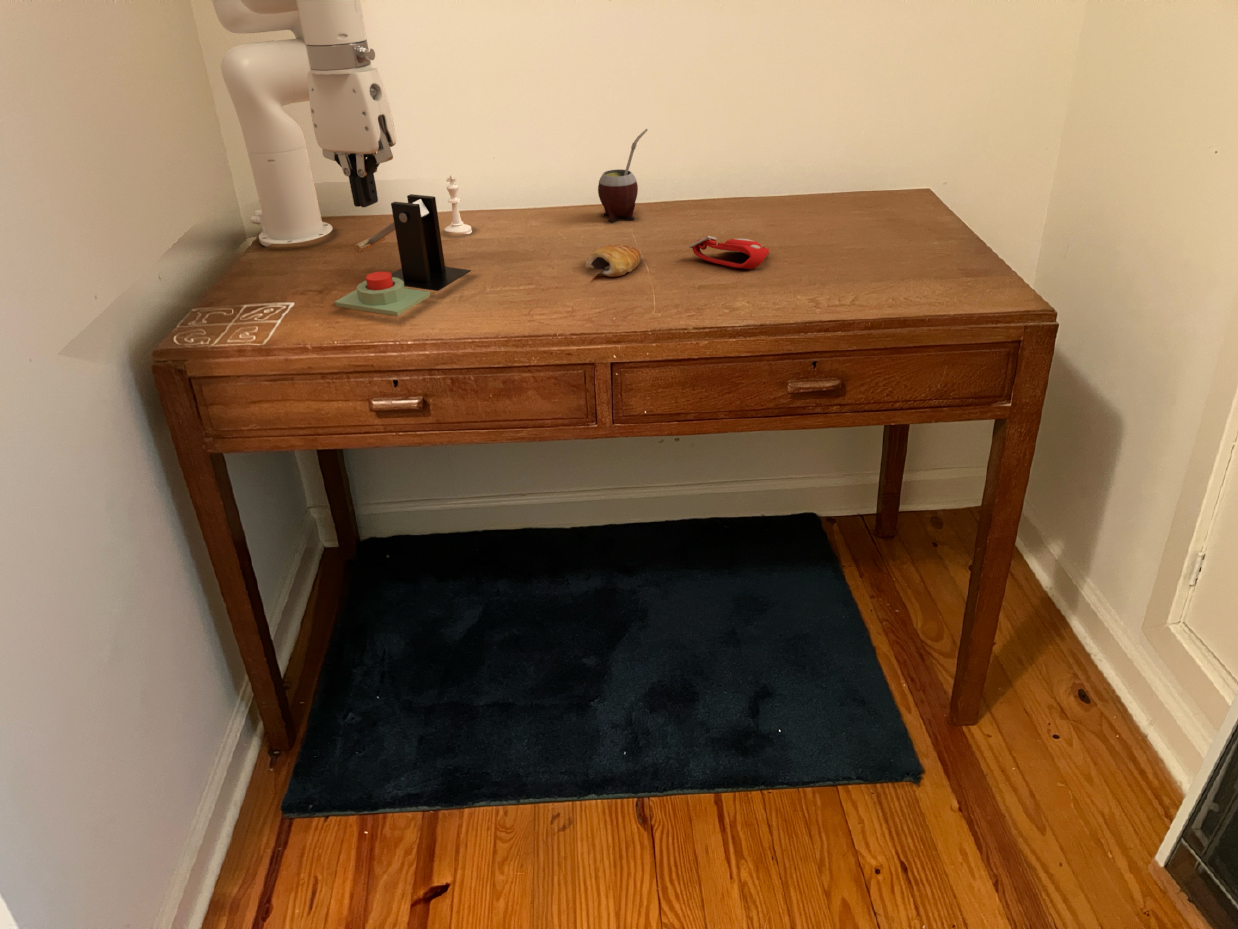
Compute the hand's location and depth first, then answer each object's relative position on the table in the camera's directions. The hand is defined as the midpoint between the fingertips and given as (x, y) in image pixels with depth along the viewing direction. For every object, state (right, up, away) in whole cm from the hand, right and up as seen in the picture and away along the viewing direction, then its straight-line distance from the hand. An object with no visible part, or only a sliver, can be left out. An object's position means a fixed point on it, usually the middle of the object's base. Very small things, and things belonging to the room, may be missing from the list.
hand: (366, 203), depth 124 cm
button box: (0, -13, +8) cm, 15 cm away
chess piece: (+6, +5, +37) cm, 38 cm away
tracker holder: (+52, -3, +20) cm, 56 cm away
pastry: (+34, -5, +19) cm, 39 cm away
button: (0, -10, +7) cm, 12 cm away
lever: (+1, -1, +14) cm, 14 cm away
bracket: (+5, -8, +16) cm, 18 cm away
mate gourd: (+35, +9, +41) cm, 55 cm away
